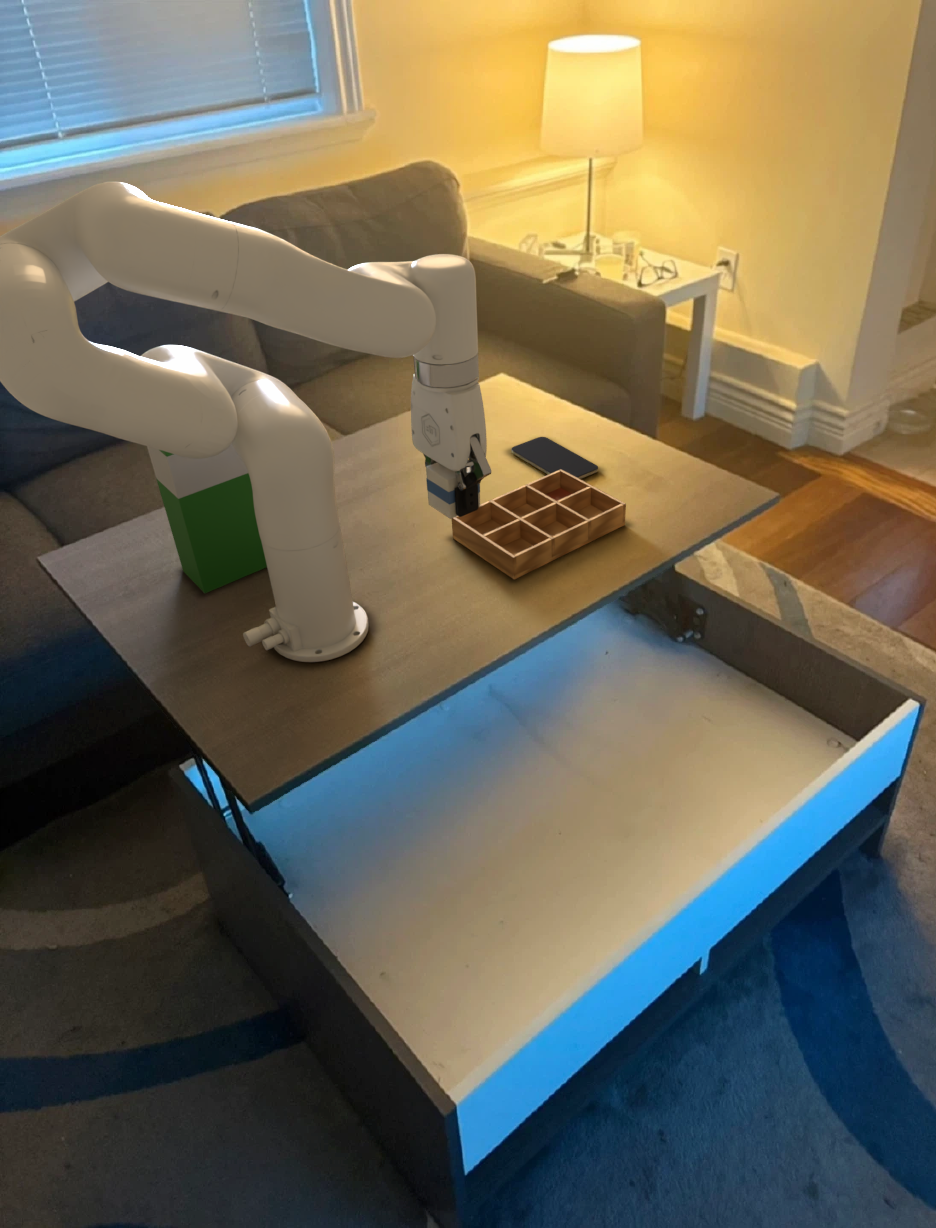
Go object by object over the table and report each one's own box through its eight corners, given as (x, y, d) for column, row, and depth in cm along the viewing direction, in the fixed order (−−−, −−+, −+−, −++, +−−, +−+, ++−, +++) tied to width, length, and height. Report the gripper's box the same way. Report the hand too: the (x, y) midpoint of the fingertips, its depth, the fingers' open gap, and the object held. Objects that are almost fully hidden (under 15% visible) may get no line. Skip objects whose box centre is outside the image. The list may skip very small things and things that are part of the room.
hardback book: (291, 526, 144) (261, 376, 129) (316, 546, 139) (287, 392, 124) (183, 570, 136) (138, 415, 121) (204, 593, 131) (160, 434, 116)
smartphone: (543, 435, 161) (601, 467, 151) (543, 438, 162) (601, 471, 151) (508, 448, 158) (565, 481, 148) (508, 451, 159) (565, 485, 148)
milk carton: (450, 519, 119) (447, 475, 115) (428, 504, 122) (424, 461, 119) (480, 506, 121) (479, 463, 118) (458, 492, 125) (456, 449, 121)
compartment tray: (514, 579, 129) (513, 557, 127) (452, 538, 138) (451, 517, 136) (625, 524, 139) (626, 503, 136) (560, 489, 148) (560, 468, 146)
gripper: (380, 356, 115) (393, 489, 125) (464, 399, 103) (470, 541, 114) (430, 340, 118) (439, 471, 129) (517, 380, 107) (519, 520, 118)
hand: (454, 502), depth 122 cm, fingers closed on milk carton, 4 cm apart
